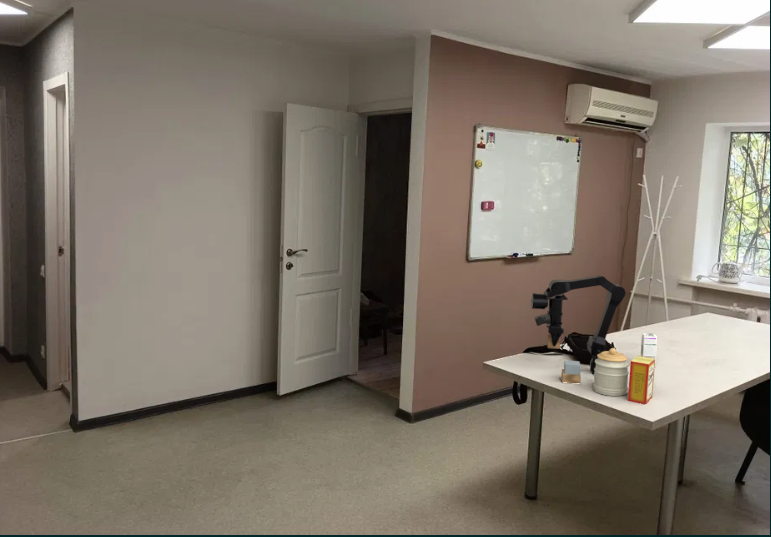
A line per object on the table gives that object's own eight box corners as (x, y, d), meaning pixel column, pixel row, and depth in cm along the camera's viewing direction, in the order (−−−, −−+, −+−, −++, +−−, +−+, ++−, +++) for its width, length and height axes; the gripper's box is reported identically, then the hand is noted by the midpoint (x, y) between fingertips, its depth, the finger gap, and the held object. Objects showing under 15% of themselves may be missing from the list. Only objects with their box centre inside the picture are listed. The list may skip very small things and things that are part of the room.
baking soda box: (645, 404, 238) (648, 363, 236) (627, 400, 242) (630, 360, 239) (652, 397, 246) (655, 357, 243) (634, 394, 249) (637, 354, 247)
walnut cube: (547, 344, 279) (547, 333, 278) (558, 345, 278) (559, 334, 277) (547, 348, 274) (548, 336, 273) (559, 348, 273) (560, 337, 272)
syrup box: (655, 368, 283) (658, 336, 281) (641, 367, 284) (644, 335, 282) (653, 364, 288) (655, 333, 286) (639, 363, 290) (641, 332, 287)
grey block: (578, 370, 266) (579, 361, 266) (580, 374, 261) (580, 365, 260) (563, 369, 268) (564, 360, 267) (565, 373, 262) (565, 364, 261)
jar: (600, 383, 261) (602, 342, 259) (632, 390, 253) (635, 347, 251) (587, 391, 252) (590, 348, 249) (620, 399, 243) (623, 354, 241)
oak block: (578, 379, 268) (578, 370, 267) (580, 384, 261) (580, 375, 260) (561, 378, 269) (561, 369, 268) (562, 383, 262) (563, 374, 261)
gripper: (535, 304, 284) (533, 338, 286) (537, 313, 266) (535, 349, 268) (561, 305, 282) (559, 339, 284) (564, 314, 264) (562, 350, 266)
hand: (553, 344), depth 276 cm, fingers closed on walnut cube, 5 cm apart
